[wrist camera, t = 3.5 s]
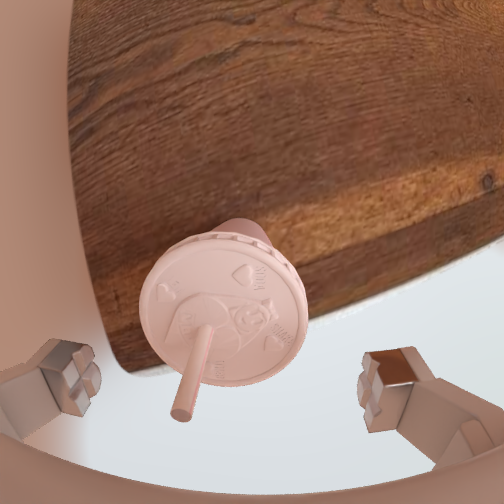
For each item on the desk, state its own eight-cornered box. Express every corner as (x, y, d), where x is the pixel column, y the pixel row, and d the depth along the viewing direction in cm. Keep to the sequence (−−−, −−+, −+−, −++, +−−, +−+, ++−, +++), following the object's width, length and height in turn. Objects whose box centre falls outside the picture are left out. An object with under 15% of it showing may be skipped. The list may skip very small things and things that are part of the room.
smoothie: (175, 218, 20) (41, 334, 6) (269, 181, 19) (284, 252, 6) (214, 302, 22) (162, 479, 8) (302, 273, 21) (351, 450, 7)
